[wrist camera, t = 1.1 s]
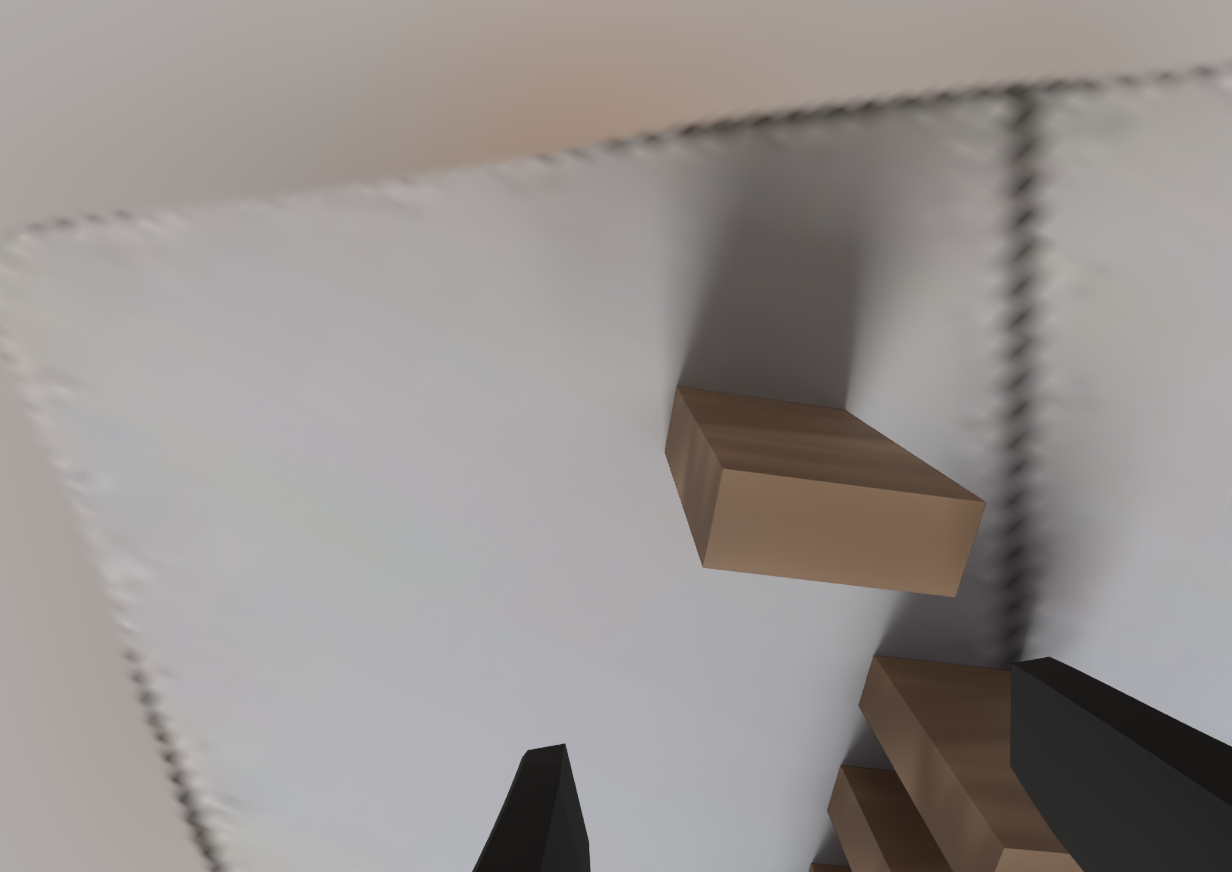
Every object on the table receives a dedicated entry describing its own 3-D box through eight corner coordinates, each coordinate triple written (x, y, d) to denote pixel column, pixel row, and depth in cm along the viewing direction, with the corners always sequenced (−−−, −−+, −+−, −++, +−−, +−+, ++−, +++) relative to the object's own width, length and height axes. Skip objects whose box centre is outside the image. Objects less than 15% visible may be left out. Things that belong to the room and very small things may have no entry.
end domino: (676, 386, 18) (723, 468, 11) (845, 409, 18) (986, 502, 12) (664, 452, 19) (702, 567, 12) (829, 474, 19) (955, 597, 12)
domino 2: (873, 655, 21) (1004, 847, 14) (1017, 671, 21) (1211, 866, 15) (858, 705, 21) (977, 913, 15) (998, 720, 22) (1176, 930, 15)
